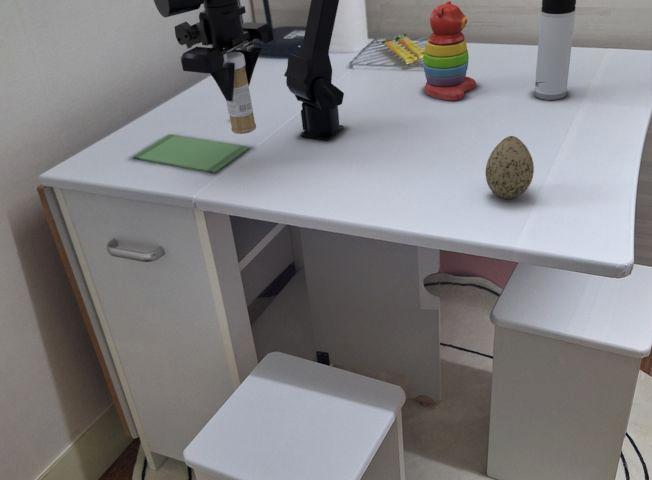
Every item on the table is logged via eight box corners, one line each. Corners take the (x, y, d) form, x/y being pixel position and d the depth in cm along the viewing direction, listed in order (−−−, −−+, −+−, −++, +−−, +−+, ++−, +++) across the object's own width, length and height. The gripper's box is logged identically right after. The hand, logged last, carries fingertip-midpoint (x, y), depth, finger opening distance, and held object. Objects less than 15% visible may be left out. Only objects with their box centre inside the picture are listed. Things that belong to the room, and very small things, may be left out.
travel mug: (531, 100, 140) (540, -4, 128) (536, 88, 145) (544, -13, 133) (564, 101, 138) (575, -4, 126) (567, 90, 143) (579, -13, 131)
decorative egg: (477, 190, 111) (479, 132, 105) (518, 182, 112) (523, 124, 106) (496, 210, 105) (499, 150, 100) (539, 202, 106) (545, 141, 100)
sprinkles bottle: (253, 123, 127) (240, 49, 119) (259, 131, 123) (246, 55, 116) (228, 128, 126) (214, 54, 118) (234, 137, 122) (219, 61, 115)
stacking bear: (459, 102, 142) (460, 12, 132) (414, 96, 147) (413, 9, 137) (479, 84, 150) (482, -2, 140) (436, 80, 155) (435, -4, 144)
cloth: (249, 148, 133) (248, 146, 133) (214, 173, 125) (214, 171, 125) (169, 136, 142) (168, 134, 141) (132, 158, 134) (132, 156, 134)
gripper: (216, -13, 122) (231, 74, 131) (145, 16, 109) (167, 110, 118) (268, -11, 117) (280, 79, 126) (200, 19, 104) (219, 118, 113)
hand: (237, 96), depth 121 cm, fingers closed on sprinkles bottle, 4 cm apart
